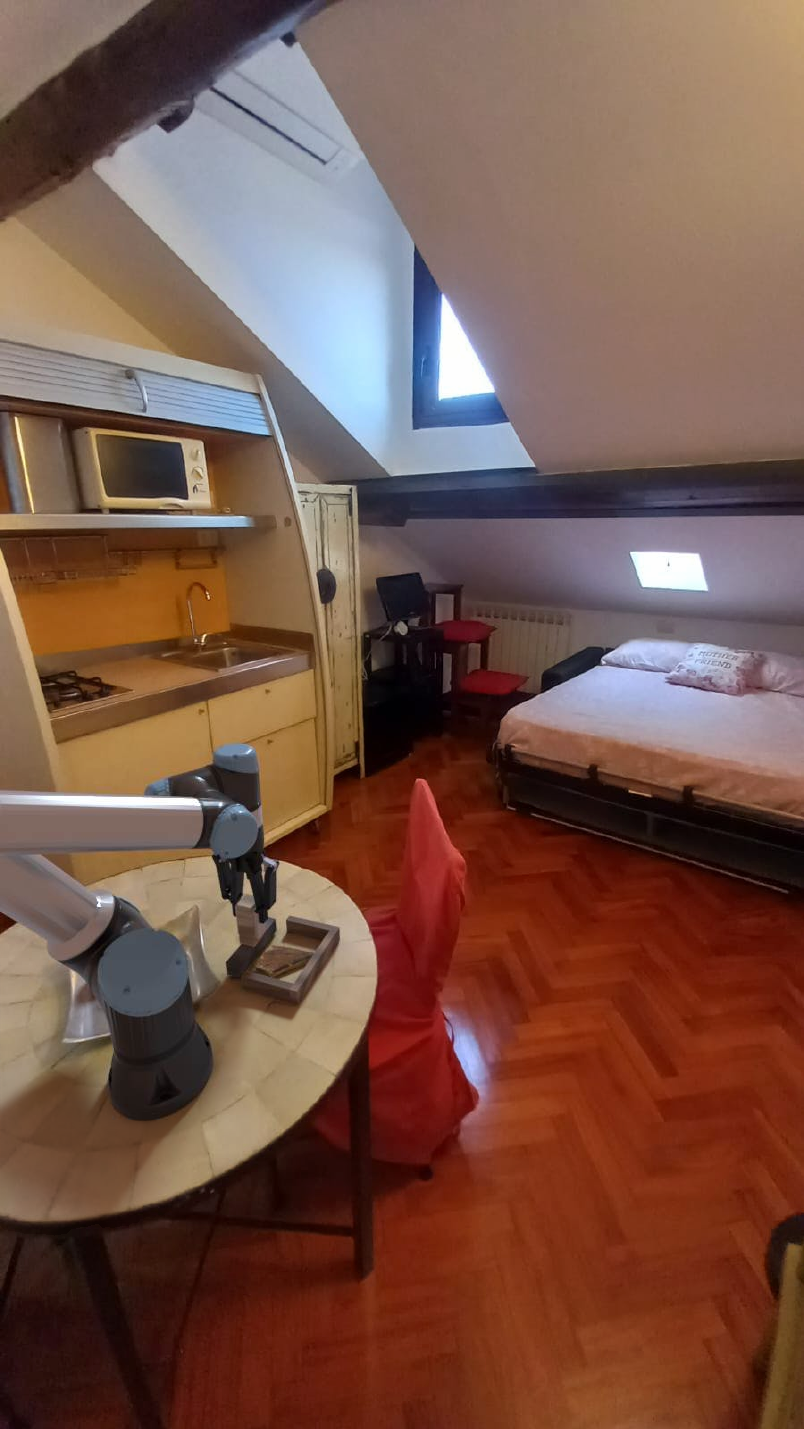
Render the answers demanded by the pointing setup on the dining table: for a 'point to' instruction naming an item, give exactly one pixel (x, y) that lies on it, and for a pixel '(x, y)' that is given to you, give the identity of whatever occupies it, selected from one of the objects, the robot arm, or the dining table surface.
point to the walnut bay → (310, 971)
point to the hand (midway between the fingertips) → (252, 932)
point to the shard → (282, 959)
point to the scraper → (248, 937)
